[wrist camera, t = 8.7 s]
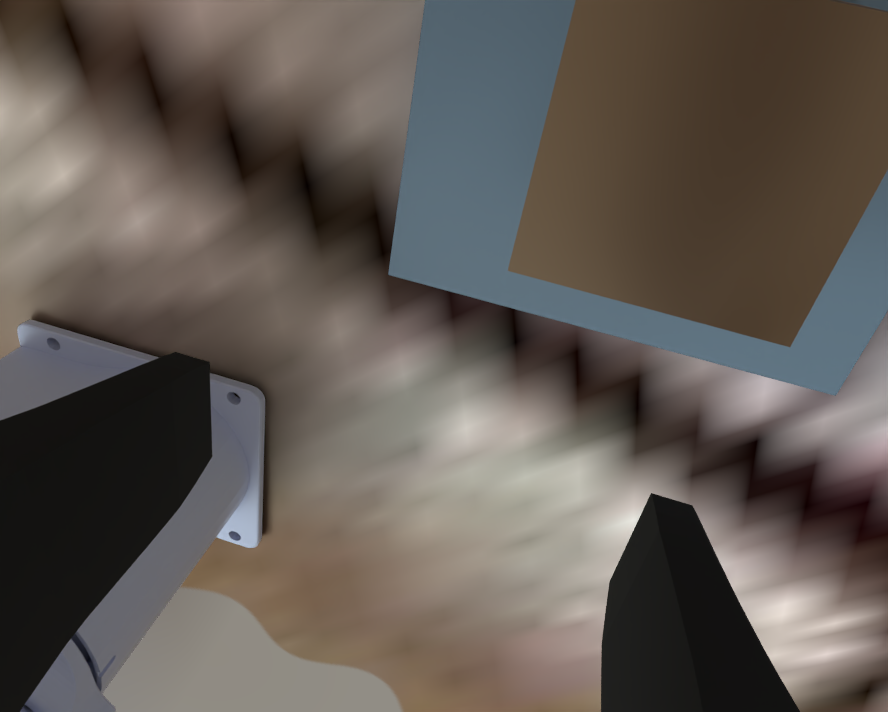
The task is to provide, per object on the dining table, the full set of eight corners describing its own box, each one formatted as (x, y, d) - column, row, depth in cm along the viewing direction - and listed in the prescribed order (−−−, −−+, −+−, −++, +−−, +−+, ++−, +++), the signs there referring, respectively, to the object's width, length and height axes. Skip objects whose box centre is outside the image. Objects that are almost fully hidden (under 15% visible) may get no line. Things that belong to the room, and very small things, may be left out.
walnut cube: (541, 189, 16) (507, 270, 12) (604, -50, 13) (588, -51, 9) (749, 242, 16) (790, 347, 11) (859, 4, 13) (964, 28, 9)
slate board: (401, 258, 19) (388, 274, 18) (482, -305, 13) (469, -329, 12) (824, 370, 18) (835, 395, 17) (1159, -199, 11) (1208, -213, 10)
